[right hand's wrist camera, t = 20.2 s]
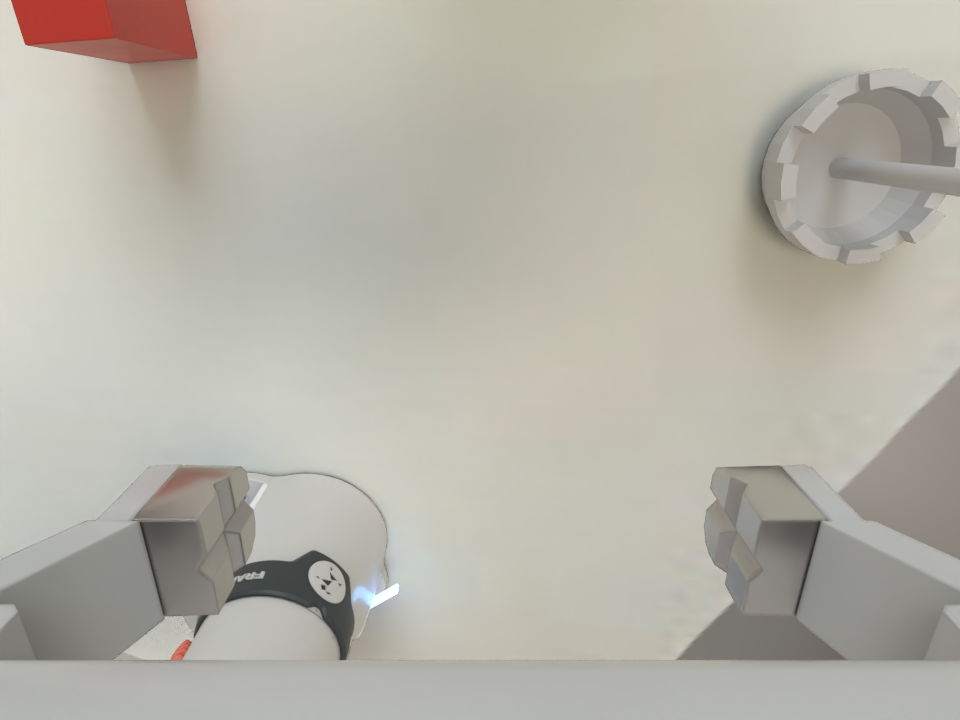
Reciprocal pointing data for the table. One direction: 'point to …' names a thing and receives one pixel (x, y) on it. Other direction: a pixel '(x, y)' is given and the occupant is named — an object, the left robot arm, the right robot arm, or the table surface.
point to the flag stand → (864, 165)
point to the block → (109, 28)
